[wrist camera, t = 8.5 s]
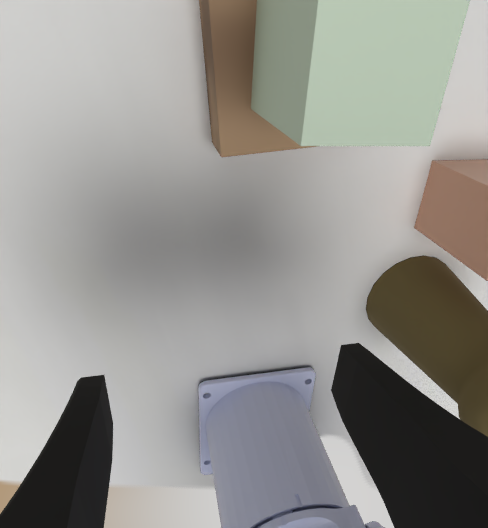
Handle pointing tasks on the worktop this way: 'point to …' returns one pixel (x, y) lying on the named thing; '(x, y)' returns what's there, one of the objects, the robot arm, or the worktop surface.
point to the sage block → (354, 68)
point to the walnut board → (235, 80)
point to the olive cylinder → (437, 330)
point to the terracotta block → (457, 211)
